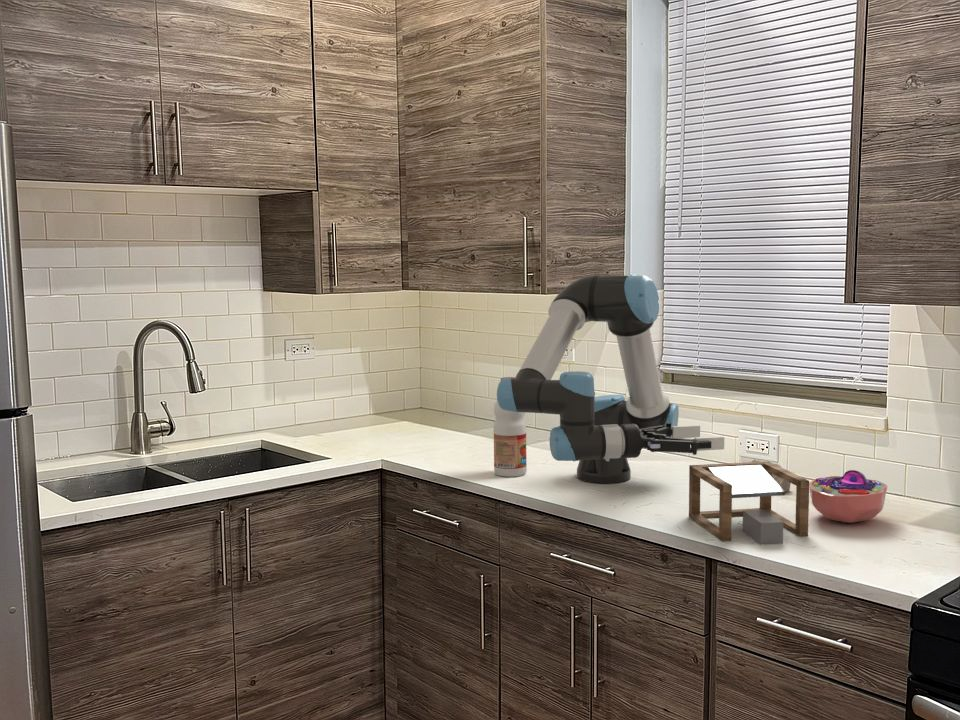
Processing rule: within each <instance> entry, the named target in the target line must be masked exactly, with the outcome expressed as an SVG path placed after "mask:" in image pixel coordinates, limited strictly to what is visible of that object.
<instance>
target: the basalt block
mask: <svg viewBox="0 0 960 720" xmlns="http://www.w3.org/2000/svg"><path fill="white" fill-rule="evenodd" d="M742 533H744V534H746V535H747V536H748V537H749V538H751V539H752V540H754V541H755V542H756V543H758V544H759V545H760V546H764V545H767V546H768V545H781V544H784V527H783V522H782V521H781V520H779V519H778V518H776V517H775V516H773V515H772V514H770V513H769V512H767V511H766V510H745V511H743V516H742Z"/></svg>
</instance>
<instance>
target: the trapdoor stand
mask: <svg viewBox="0 0 960 720" xmlns="http://www.w3.org/2000/svg"><path fill="white" fill-rule="evenodd" d="M775 464H776V463H773V462H771V461H768V460H765V461H761V462H752V461H747V462H729V463H728V462H726V463H707V464H690V465H688V469H689V471H688V473H689V475H688V477H689V480H688V481H689V482H688V517H689V518H691V519H692V520H693V521H694V522H696V523H698V524H699V525H700V527H702V528H704V529H705V530H707V531H708V532H710V533H711V534H712V535H714V536H715V537H716V538H717V539H719V540H720V541H722V542H732V526H733V525H732V521H733V517H738V516H739V517H740V516H741V517H743V511H745V510H766V511H767V512H769V513H770V514H772V515H773V516H775V517H776V518H778V519H779V520H781V521H782V522H783V528H785V529H787V530H788V531H790V532H792V533H793V534H794V535H796V536H798V537H808V536H809V515H810V514H809V513H810V485H809V484H810V480H808V479H806V478H804V477H802V476H800V475H797V474H795V473H794V472H792V471H789V469H788V470H787V469H785V468H784V467H782V466H781V467H782V468H781V467H779V466H777V465H775ZM744 465H764V469H765V470H766V471H767V472H768V474H769V475H770V476H771V477H772V474H774V475H776V476H778V477H780V478H782V479H784V480H786V481H788V482H790V484H792V485H794V486H796V489H795V492H796V493H795V523H794V522H793V521H791V520H790V519H788V518H786V517H784V516H782V515H781V514H779V513H778V512H776V511H774V510H772V496H763V497H759V507H755V508H738V509H733V498H732V485H731V484H729V483H728V482H726V481H724V480H723V479H721V478H719V477H717V476H716V475H714V474H712V473H710V472H709V471H707V470H705V467H724V466H744ZM701 480H702V481H704V482H706V483H708V484H709V485H711V486H712V487H714V488H716V489H717V490H719V506H718V507H719V510H704V511H702V510H701ZM709 518H719V520H718V522H719V523H718V525H716V524H715V523H713V522H712V521H710V520H709Z"/></svg>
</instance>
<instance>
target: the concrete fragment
mask: <svg viewBox="0 0 960 720" xmlns="http://www.w3.org/2000/svg"><path fill="white" fill-rule="evenodd" d="M751 462H762V461H760V460H759V459H758V460H756V459H753V460H751ZM774 464H775V465H777V466H779V467H781V468H783V467H782V466H781V465H780V464H777V463H774ZM772 478H773V479H774V480H775V481H776V482H777V483H778V484H779V485H780V486H781V488H782V489H783V490H784V491H785V493H787V492H789V491H790V490H791V483H790V482H788V481H786V480H784V479H782V478H780V477H778V476H776V475H774V474H772Z"/></svg>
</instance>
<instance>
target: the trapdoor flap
mask: <svg viewBox="0 0 960 720" xmlns="http://www.w3.org/2000/svg"><path fill="white" fill-rule="evenodd" d="M705 470H707V471H709V472H710V473H712V474H714V475H716V476H717V477H719V478H721V479H723V480H724V481H726V482H728V483H729V484H731V485H732V499H741V498H760V497H763V496H771V497H777V496H779V497H780V496H785V495H786V492H785V491H784V490H783V489H782V488H781V486H780V485H779V484H778V483H777V482H776V481H775V480H774V479H773V478H772V477H771V476H770V475H769V474H768V472H767V471H766V470H765V469H764V465H744V466H724V467H705Z"/></svg>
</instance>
